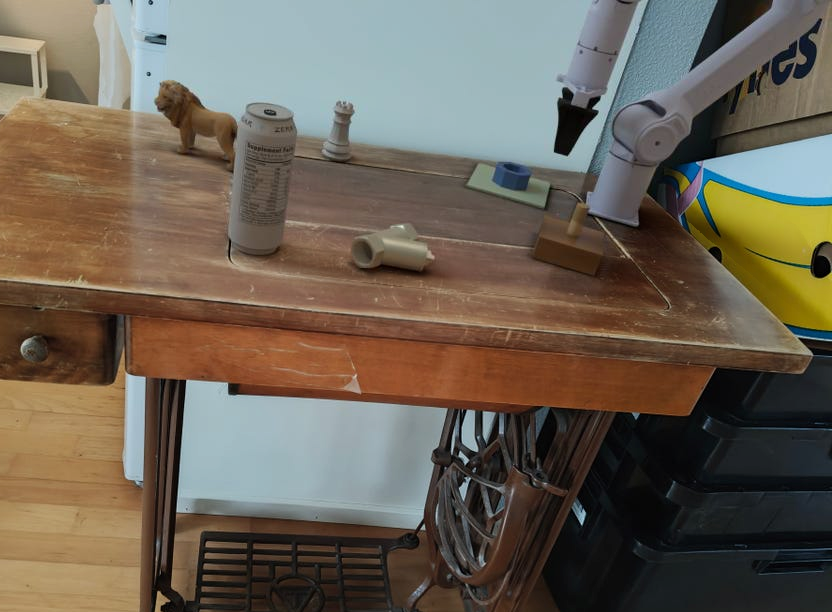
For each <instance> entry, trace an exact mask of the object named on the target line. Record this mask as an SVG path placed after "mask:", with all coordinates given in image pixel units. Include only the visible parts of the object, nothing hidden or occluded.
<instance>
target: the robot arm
mask: <svg viewBox="0 0 832 612" xmlns="http://www.w3.org/2000/svg"><path fill="white" fill-rule="evenodd" d="M641 1H642V0H591V3H590V4H589V5H590V6H589V7H588V11H587V13H586V16H585V20H584V22H583V26H582V28H581V31H580V33H579V37H578V39H577V43H576V46H575V48H574V52H573V55H572V56H571V61H570V63H569V65H568V69H567V72H566V75H565V74H562V73H558V74H557V75H556V77H555V81H556V82H559V83H561V84H563V85H564V86H563V87H562V88H561V96H562V97H561V96H560V97H558V98H557V101H556V106H557V128H556V133H555V138H554V144H553V153H554V154H557V155H561V156H565V157H569V155H570V154H571V152H572V151H573V149H574V148H575V146H576V144H577V143H578V140H579V139H580V137H581V135H582V134H583V132H584V131H585V129H586V128H587V127H588V126H589V125H590V123H592V121H593V120H594V119H595V118H596V117H597V116H598V115H599V111H600V110H598V109H594V107H595V106H597V104H598V103H599V102H601V98H602V96H604V95H605V96H606V94H607V91H608V89H609V88H608V85H609V83H610V80H611V76H612V74H613V71H614V69H615V67H616V63H617V61H618V58H619V55H620V53H621V51H622V47H623V45H624V42H625V39H626V38H627V37H626V36H627V35H628V32H629V29H630V26H631V23H632V21H633V19H634V15H635V13H636V10H637V8H638V5H639V3H640V2H641ZM831 3H832V0H772V5H771V7H770V9H769V10H768V11H766V12H765V13H764V14H762V15H761V16H760V17H759V18H757V19H756V20H755V21H753V22H752V23H751V24H750V25H748V26H747V27H745V28H744V29H743V30H742V31H740V32H739V33H738V34H736V35H735V36H734V37H733V38H731V39H730V40H729V41H728V42H726V43H725V44H724V45H722V46H721V47H720V48H718V49H717V50H716V51H715V52H713V53H712V54H710V55H709V56H708V57H707V58H706V59H705V60H703V61H702V62H701V63H699V64H698V65H696V66H695V67H694V68H693V69H692V70H690V71H689V72H687V74H685V75H684V76H682V77H681V78H680V79H679V80H677V81H676V82H675V83H674V84H672V85H671V86H669V87H668V88H664V89H661V90H656V91H652V92H649V93H647V94H646V95H645V96H643V97H642V98H640V99H639V100H636V101H632V102H629V103H626V104H625V105H622V106H621V108H619V109H618V110H617V111H616V113H614V115H613V117H612V119H611V122H610V134H611V136H612V138H613V139H612V142H611V145H610V147H609V150H608V153H607V155H606V158H605V161H604V163H603V165H602V167H601V168H602V169H601V171H600V173H599V176H598V178H597V181H596V183H595V186H594V189H593V191H587V193H586V198H585V204H587V205H588V206H590V208H589V211H588V213H587V215H592V216H596V217H600V218H602V219H606V220H610V221H613V222H617V223H620V224H623V225H627V226H630V227H635V228H638V227H639V225H640V222H639V209H640V207H641V205H642V202H643V201H644V197H645V196H646V193H647V191H648V188H649V186H650V184H651V181H652V179H653V177H654V175H655V172H656V170H657V168H658V167H659V166H660V164H661V163H662V162H663V161H665V160H666V159H668V158H669V157H670V156H671V155H672V154H673V153H674V151H675V150H676V148H677V147H678V145H679V144H680V142H681V141H683V140H684V139H685V138H686V137H688V136H689V135H690V134H691V130H692V123H693V119H694V118H696V116H698V114H700V113H701V112H703V111H704V110H706V109H708V107H710V106H711V105H712V104H713V103H715V102H716V101H717V100H719V99H720V98H721V97H723V96H724V95H725V94H726V93H728V92H729V91H731V90H732V89H734V88H735V87H737V85H738V84H740V83H741V82H742V81H744V80H745V79H747V78H748V77H749V76H751V75H752V74H754V73H755V72H757V70H759V69H760V68H762V67H763V66H764V65H766V63H768V62H770V61H771V60H772V59H774V58H775V56H778V54H780V53H781V52H783V51H784V50H785V49H787V48H788V47H789V46H790V45H792V44H793V43H794V42H796V41H797V40H798V39H800V38H801V37H802V36H804V35H805V34H807V33H808V32H809V31H810V30H811V29H813V28H814V26H815V25H816V24H817V22H818V21H819V20H820V18H821V17H822V16H823V14H824V13H825V11H826V10H827V9H828V7H829V6H830V5H831Z"/></svg>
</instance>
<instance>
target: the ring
mask: <svg viewBox="0 0 832 612" xmlns="http://www.w3.org/2000/svg"><path fill="white" fill-rule="evenodd" d="M495 168H496V169H495V172H494V176H493V179H492V181H493V182H495V183H496V184H497V185H499V186H500V187H503V188H507V189H511V190H514V191H515V190H526V188H527V185H528V182H529V179H530V177H531V176H532V173H533V170H531V169H529V168H528V167H527V166H525V165H523V164H520V163H516V162H513V161H498V162H497V164H496V165H495Z"/></svg>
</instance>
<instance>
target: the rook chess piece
mask: <svg viewBox="0 0 832 612" xmlns="http://www.w3.org/2000/svg"><path fill="white" fill-rule="evenodd" d="M332 111H333V112H334V117H332V121H333V123H332V127H331V131H330V134H329V136H328V137H327V138H326V139H327V140H325V141H324V142H323V148H324V149H323V148H322V150H321V153H322V155H323V156H324V158H326V159H328V160H331V161H335V162H347V161H349V159H351V157H352V155H351V154H350V153H351V152H352V146H351V144H350V143H351V142H350V139H349V135H350V125H351V124H352V120H351V118H352V117H353V115H354V114H355V109H354V104H353V103H352V102H350V101H349V102H348V103H347V101H346V100H343V101H341V100H337V101H336V103H335V105H334V106H333V108H332Z"/></svg>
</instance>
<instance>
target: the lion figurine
mask: <svg viewBox="0 0 832 612" xmlns="http://www.w3.org/2000/svg"><path fill="white" fill-rule="evenodd" d="M158 84H159V89H158V94H157V97H155V98H154V100H153V103H154V105H155V106H156V110H157V112H158V113H162V115H163V116H164V117H165V118H166V119H168V120H169V121H170V125H171V126H172V127H174V128H176V129H178V130H179V134H180V140H181V147H177V150H176V151H177V153H178V154H181V155H182V154H186V153H188V152H189V150H190V149H193V148H194V146H195V142H196V136H197V135H199V136H201V137H203V138H204V137H205V138H215V137H216V140H217V143H218V145H219V147H220V149H221V150H222V152H223V153H224V154H222V155H221V159H222V160H225V161H230V163H227V164H226V170H227V171H228V172H229V171H230V172H234V164H235V153H236V152H235V150H234V145H235V141H236V142H237V131H238V123H237V121H236V120H237V119H235V117H234V116H233V115H231V114H230V113H227V112H220V111H219V112H218V111H215V110H211V109H209V108H206V107H205V106H204V105H203V103H202V101H201V99H200V98H199V97H198V96H197V95H195V93H194V92H191V90H190V89H189V88H188V87H187V86H185V85H184V84H182V83H181V82H179V81H176V80H172V79H166V80H162V82H159V83H158Z"/></svg>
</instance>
